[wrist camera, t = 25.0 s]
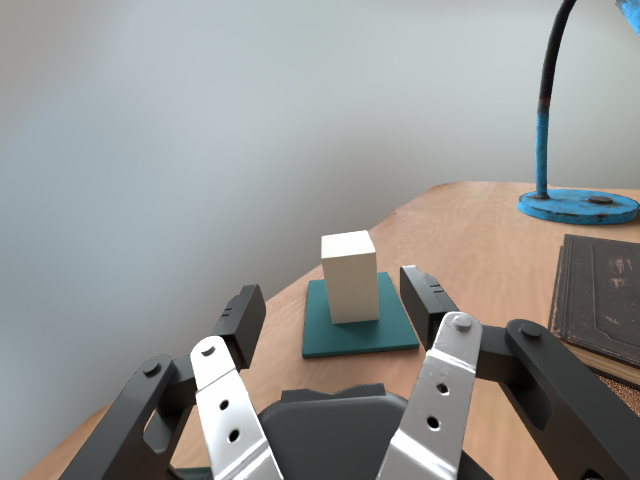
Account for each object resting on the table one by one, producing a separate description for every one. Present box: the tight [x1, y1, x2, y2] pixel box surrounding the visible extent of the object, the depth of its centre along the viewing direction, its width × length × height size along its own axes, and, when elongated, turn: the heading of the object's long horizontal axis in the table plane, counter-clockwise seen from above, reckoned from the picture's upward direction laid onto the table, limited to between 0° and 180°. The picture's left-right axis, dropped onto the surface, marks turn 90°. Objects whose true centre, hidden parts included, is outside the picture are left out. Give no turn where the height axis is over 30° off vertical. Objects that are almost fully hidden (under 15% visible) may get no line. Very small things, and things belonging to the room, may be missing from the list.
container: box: [321, 231, 379, 324], centre depth 27 cm, size 6×6×9 cm
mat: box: [302, 272, 419, 358], centre depth 29 cm, size 12×13×1 cm
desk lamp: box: [517, 0, 640, 225], centre depth 34 cm, size 16×22×45 cm
